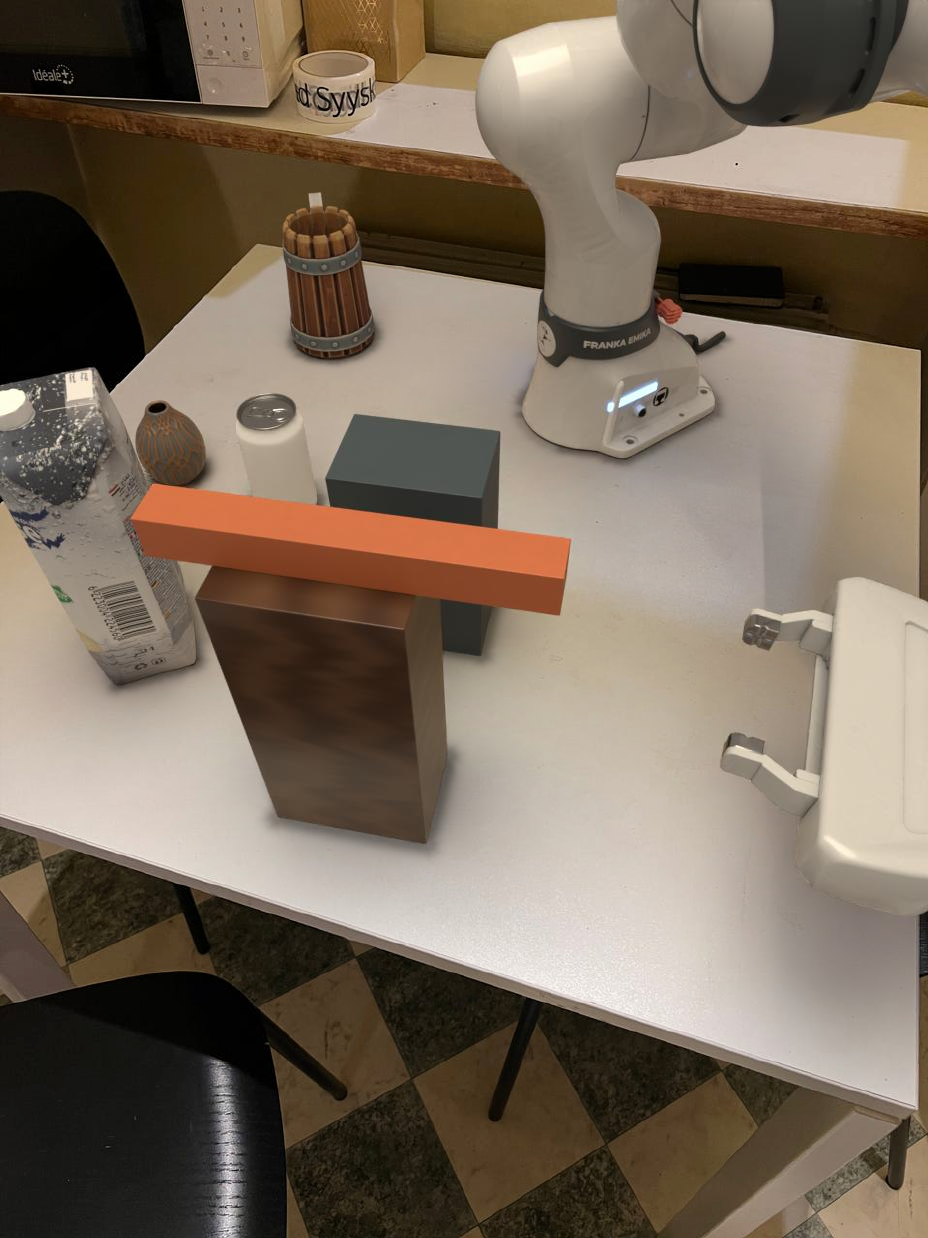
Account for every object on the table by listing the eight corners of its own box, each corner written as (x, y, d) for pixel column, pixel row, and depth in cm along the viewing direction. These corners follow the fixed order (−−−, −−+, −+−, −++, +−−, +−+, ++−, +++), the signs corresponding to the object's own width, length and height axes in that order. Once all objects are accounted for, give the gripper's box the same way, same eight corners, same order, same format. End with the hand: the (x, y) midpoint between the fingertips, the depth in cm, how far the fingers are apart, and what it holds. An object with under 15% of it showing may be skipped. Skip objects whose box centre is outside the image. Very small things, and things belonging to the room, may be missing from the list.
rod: (566, 576, 48) (571, 538, 46) (559, 616, 46) (564, 578, 44) (167, 521, 52) (152, 482, 49) (145, 556, 50) (129, 518, 47)
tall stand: (447, 755, 71) (437, 527, 51) (426, 844, 66) (404, 630, 46) (308, 731, 73) (245, 501, 53) (276, 817, 68) (193, 598, 48)
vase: (180, 503, 91) (157, 436, 84) (133, 480, 93) (107, 413, 86) (225, 466, 95) (206, 399, 88) (179, 445, 97) (156, 379, 90)
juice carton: (190, 588, 83) (96, 339, 62) (209, 670, 77) (110, 423, 56) (96, 613, 81) (-35, 365, 60) (106, 699, 75) (-35, 455, 54)
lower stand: (496, 590, 82) (500, 430, 68) (480, 656, 77) (482, 498, 63) (375, 573, 84) (354, 413, 70) (352, 636, 79) (324, 477, 64)
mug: (379, 356, 108) (368, 238, 96) (294, 364, 107) (272, 247, 95) (367, 292, 118) (356, 178, 106) (290, 299, 117) (269, 185, 105)
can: (307, 530, 88) (287, 435, 79) (247, 521, 89) (221, 427, 80) (326, 488, 92) (309, 394, 83) (268, 480, 93) (246, 386, 84)
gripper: (1007, 593, 51) (774, 526, 53) (1039, 911, 38) (729, 805, 40) (952, 658, 56) (740, 594, 58) (964, 960, 43) (691, 863, 45)
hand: (735, 683), depth 49 cm, fingers open, 8 cm apart
